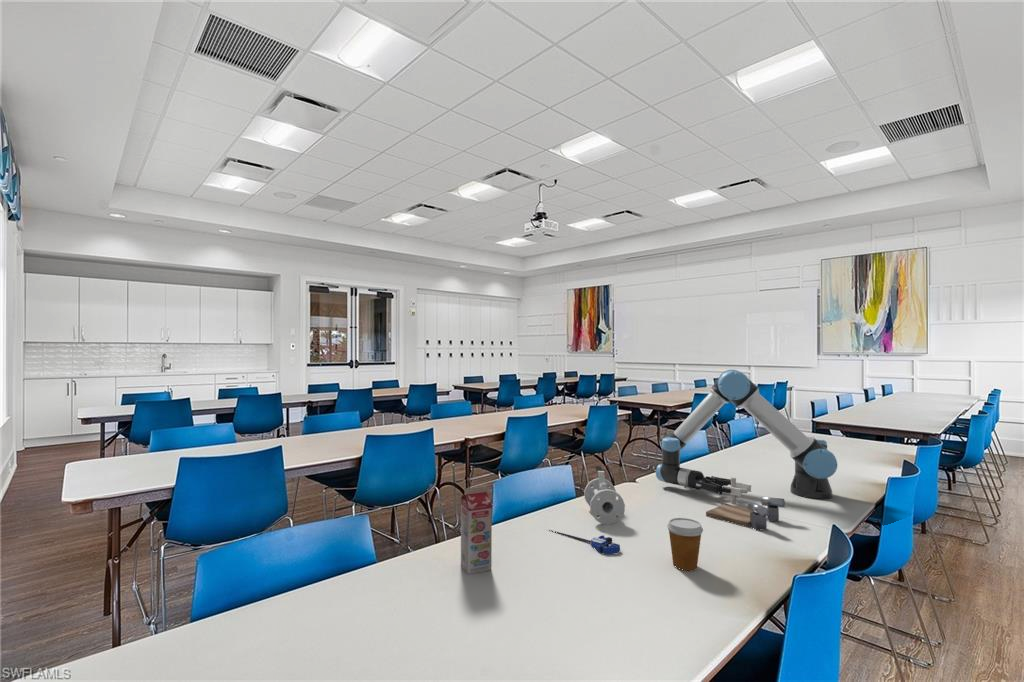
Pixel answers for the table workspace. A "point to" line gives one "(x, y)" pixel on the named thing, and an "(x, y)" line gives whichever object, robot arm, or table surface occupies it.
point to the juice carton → (476, 530)
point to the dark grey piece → (758, 516)
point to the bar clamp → (600, 544)
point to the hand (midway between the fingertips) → (745, 490)
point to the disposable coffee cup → (685, 542)
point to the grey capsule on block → (773, 507)
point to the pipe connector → (733, 484)
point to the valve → (604, 500)
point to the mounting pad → (731, 514)
